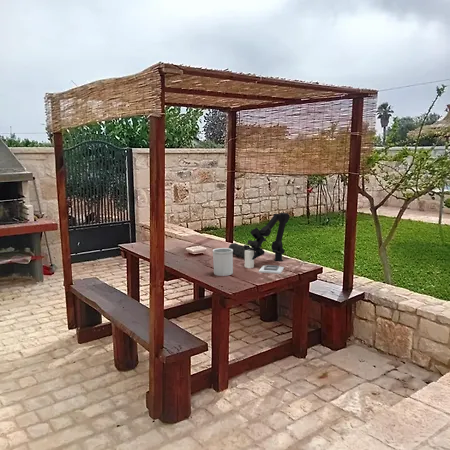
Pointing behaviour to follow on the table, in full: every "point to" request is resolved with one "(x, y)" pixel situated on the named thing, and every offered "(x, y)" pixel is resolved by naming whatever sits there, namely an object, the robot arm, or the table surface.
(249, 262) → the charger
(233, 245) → the muzzle brake
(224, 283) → the table surface
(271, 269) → the dock plate
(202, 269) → the table surface
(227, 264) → the utensil holder
